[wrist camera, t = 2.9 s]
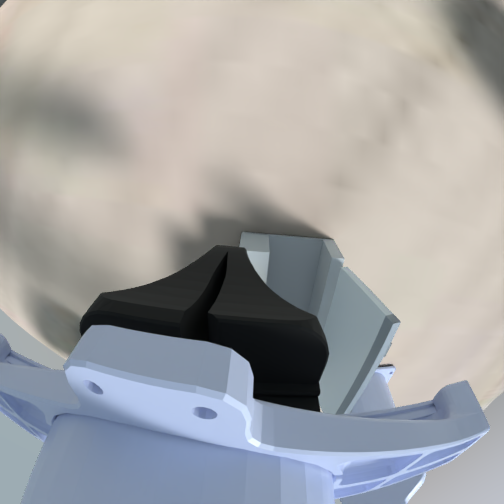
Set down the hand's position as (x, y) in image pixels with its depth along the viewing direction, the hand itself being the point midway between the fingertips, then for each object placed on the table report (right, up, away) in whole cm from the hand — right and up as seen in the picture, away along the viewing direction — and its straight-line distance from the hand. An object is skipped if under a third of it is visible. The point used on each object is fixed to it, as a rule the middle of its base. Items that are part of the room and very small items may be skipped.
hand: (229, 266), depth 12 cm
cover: (+8, -8, +7) cm, 13 cm away
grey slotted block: (+4, -4, +14) cm, 15 cm away
